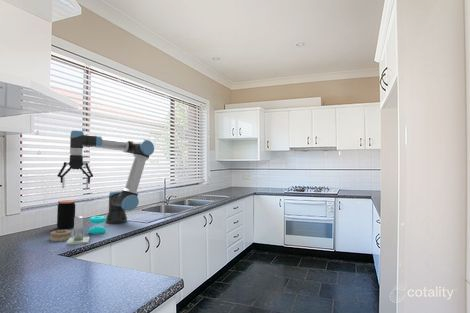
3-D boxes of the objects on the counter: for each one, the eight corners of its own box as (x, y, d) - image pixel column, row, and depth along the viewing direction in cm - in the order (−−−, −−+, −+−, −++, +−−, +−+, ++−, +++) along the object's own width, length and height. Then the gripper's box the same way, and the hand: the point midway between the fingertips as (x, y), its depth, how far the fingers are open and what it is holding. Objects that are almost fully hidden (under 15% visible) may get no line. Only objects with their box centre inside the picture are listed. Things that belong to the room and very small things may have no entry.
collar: (72, 235, 187) (72, 229, 187) (69, 240, 177) (69, 233, 177) (52, 236, 183) (52, 230, 183) (48, 241, 174) (48, 234, 174)
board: (90, 238, 183) (90, 236, 183) (88, 243, 173) (88, 241, 173) (69, 239, 179) (69, 237, 179) (66, 244, 169) (66, 242, 169)
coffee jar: (78, 226, 212) (79, 200, 213) (68, 229, 202) (68, 202, 202) (63, 225, 214) (64, 199, 214) (53, 228, 203) (54, 201, 203)
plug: (83, 238, 179) (84, 216, 179) (82, 240, 175) (83, 217, 175) (74, 238, 177) (74, 216, 177) (73, 241, 173) (73, 218, 173)
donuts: (100, 215, 204) (109, 217, 199) (99, 229, 204) (108, 232, 199) (86, 217, 196) (95, 219, 190) (85, 232, 196) (94, 235, 190)
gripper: (52, 154, 187) (51, 188, 187) (97, 155, 195) (96, 188, 195) (55, 154, 194) (54, 187, 194) (98, 155, 202) (97, 187, 202)
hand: (75, 188), depth 194 cm, fingers open, 13 cm apart
